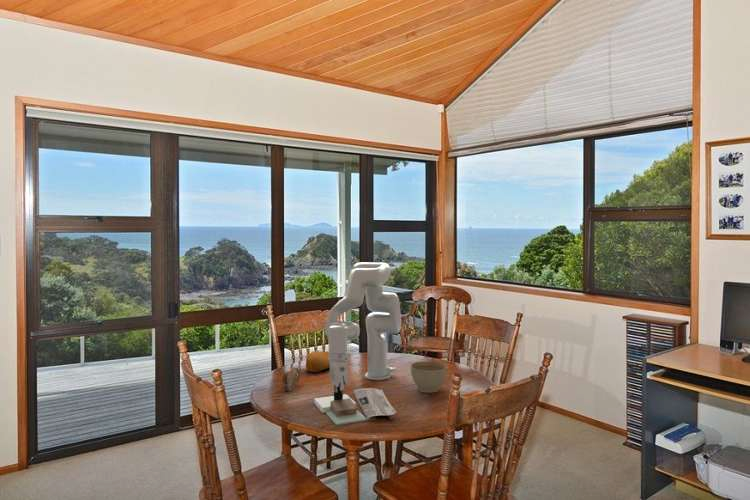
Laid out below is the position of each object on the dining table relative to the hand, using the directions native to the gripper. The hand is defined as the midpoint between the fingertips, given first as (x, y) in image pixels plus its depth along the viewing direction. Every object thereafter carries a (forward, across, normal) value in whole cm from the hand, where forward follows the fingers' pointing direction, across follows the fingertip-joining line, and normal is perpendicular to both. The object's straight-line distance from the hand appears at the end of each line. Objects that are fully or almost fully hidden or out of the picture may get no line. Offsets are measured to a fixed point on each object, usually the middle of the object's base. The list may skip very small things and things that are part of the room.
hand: (338, 401), depth 198 cm
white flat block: (+3, +5, 0) cm, 6 cm away
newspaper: (+4, -2, -15) cm, 16 cm away
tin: (+3, +36, +11) cm, 38 cm away
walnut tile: (+2, -5, 0) cm, 5 cm away
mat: (+3, -9, 0) cm, 9 cm away
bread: (+3, +62, -11) cm, 63 cm away
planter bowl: (+3, +8, -45) cm, 46 cm away
